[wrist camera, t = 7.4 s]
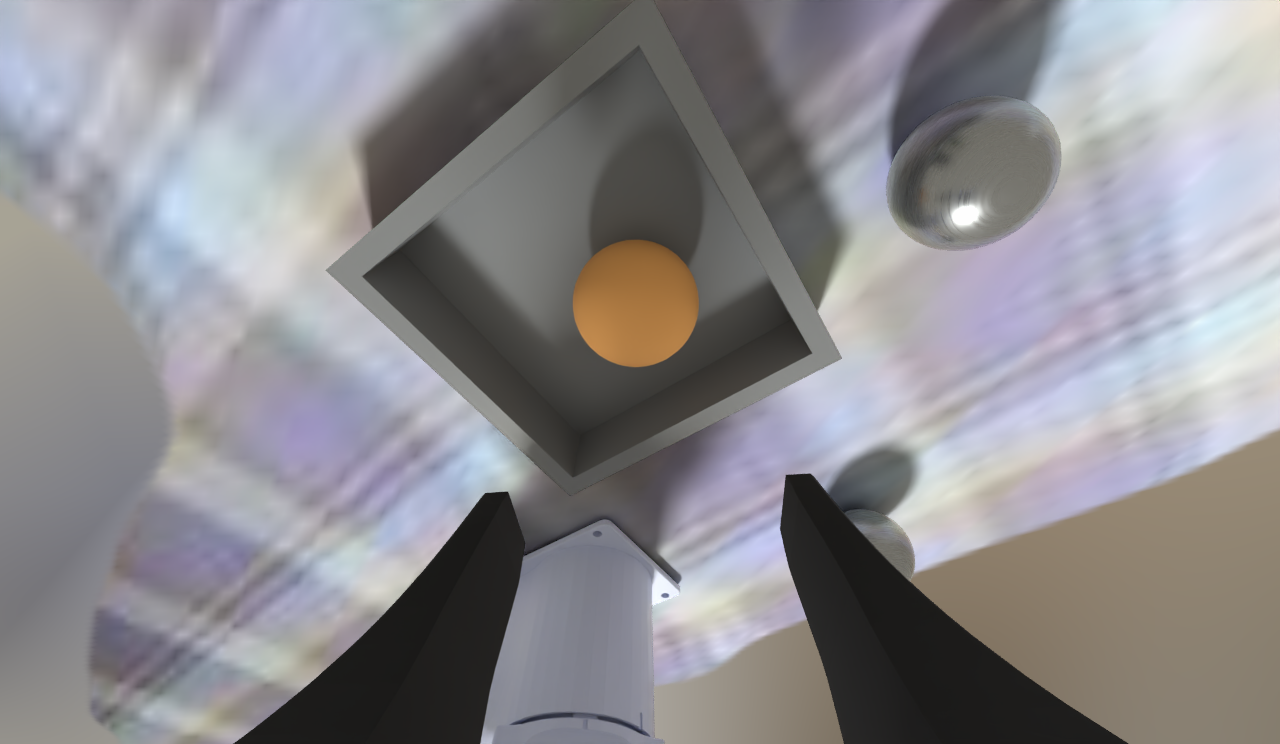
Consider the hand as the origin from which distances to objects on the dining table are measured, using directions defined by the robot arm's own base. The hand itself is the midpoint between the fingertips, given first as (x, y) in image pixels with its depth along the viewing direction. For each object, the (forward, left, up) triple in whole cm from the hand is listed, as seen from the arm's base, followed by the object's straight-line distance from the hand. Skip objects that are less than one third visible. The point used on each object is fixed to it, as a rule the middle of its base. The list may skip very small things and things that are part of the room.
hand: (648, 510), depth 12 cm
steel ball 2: (+12, 0, -7) cm, 14 cm away
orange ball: (+1, +3, -7) cm, 7 cm away
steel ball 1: (+3, -16, -7) cm, 18 cm away
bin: (0, +3, -9) cm, 10 cm away
